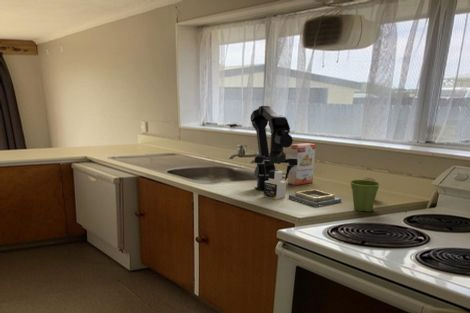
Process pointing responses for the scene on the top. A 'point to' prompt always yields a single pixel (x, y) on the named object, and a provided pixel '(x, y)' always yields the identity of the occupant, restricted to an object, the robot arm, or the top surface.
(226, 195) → the top surface
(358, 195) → the plant pot
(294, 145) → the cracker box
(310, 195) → the picture frame
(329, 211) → the top surface
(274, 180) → the medicine bottle
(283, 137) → the robot arm
